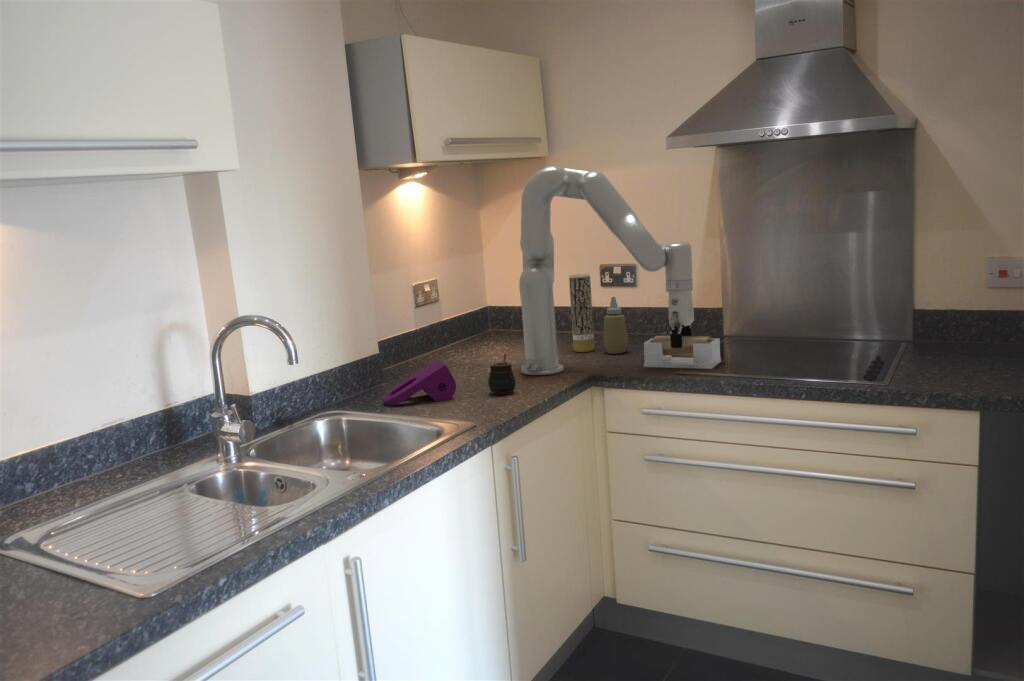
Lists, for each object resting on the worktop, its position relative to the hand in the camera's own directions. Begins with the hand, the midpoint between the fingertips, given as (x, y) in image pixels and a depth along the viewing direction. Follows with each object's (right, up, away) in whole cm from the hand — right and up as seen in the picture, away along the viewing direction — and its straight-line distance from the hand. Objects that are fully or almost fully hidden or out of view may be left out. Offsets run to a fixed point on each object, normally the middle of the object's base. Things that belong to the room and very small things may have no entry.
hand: (681, 344), depth 245 cm
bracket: (0, -6, +1) cm, 6 cm away
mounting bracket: (-74, -15, -19) cm, 78 cm away
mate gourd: (-52, -13, -18) cm, 56 cm away
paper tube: (-25, -2, +33) cm, 42 cm away
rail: (0, -3, 0) cm, 3 cm away
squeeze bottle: (-16, -3, +26) cm, 31 cm away
